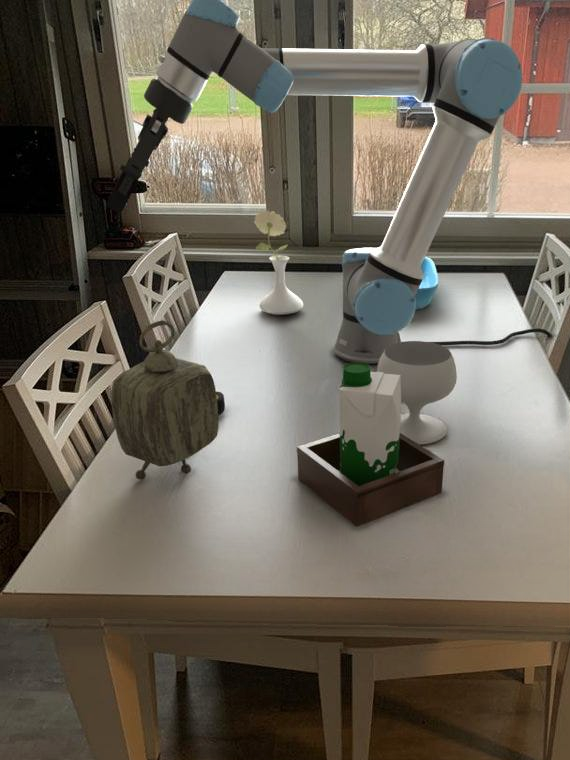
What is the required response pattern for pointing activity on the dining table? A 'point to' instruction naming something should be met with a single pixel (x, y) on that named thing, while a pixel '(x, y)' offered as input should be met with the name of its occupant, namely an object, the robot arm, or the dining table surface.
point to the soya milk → (369, 423)
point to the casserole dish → (427, 284)
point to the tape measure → (220, 402)
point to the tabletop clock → (164, 407)
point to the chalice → (420, 384)
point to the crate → (376, 497)
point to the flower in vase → (276, 267)
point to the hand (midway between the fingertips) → (116, 201)
